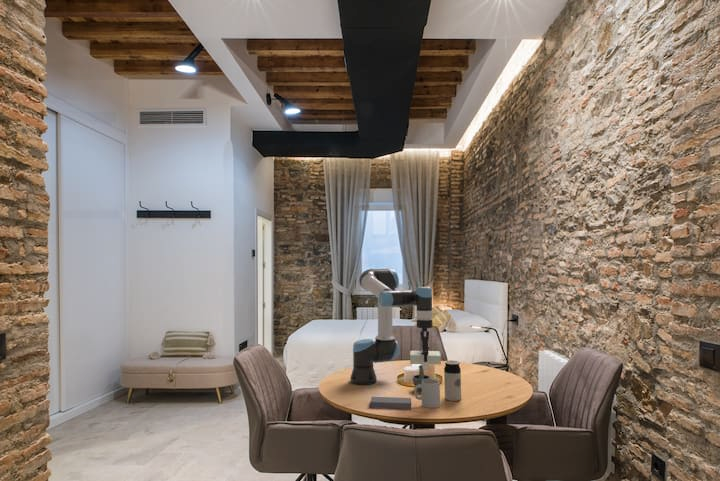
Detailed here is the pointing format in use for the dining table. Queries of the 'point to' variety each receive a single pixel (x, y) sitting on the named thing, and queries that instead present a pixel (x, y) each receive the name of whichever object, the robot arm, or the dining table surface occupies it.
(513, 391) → the dining table surface
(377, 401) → the mat
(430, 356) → the lid
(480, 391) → the dining table surface
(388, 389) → the dining table surface
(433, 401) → the mug
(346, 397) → the dining table surface
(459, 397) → the travel mug
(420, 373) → the mortar and pestle
